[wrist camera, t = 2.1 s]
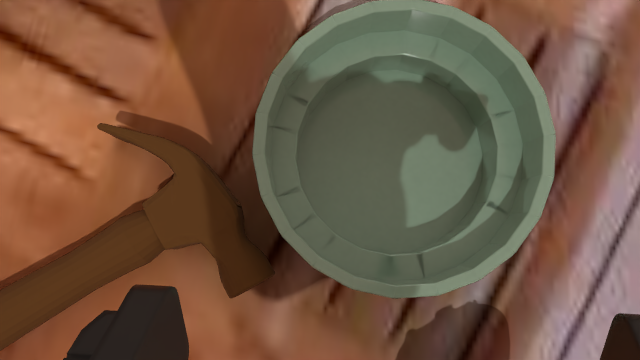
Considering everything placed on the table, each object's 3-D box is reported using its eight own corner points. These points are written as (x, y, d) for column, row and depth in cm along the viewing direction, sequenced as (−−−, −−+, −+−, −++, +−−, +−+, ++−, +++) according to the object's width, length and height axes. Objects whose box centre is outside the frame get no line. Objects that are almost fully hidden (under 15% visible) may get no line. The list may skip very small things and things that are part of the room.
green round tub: (217, 136, 33) (192, 114, 27) (413, -6, 34) (432, -59, 28) (363, 337, 32) (373, 361, 26) (563, 185, 33) (618, 174, 27)
